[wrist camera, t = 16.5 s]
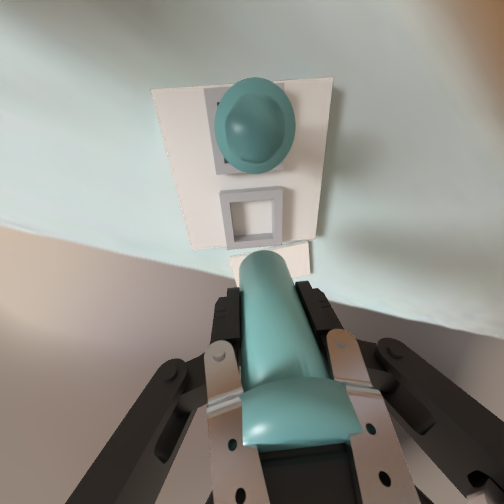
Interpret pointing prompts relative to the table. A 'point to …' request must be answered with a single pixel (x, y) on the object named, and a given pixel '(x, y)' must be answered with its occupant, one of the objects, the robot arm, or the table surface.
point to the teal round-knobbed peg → (284, 366)
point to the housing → (240, 183)
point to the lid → (291, 253)
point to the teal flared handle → (255, 125)
